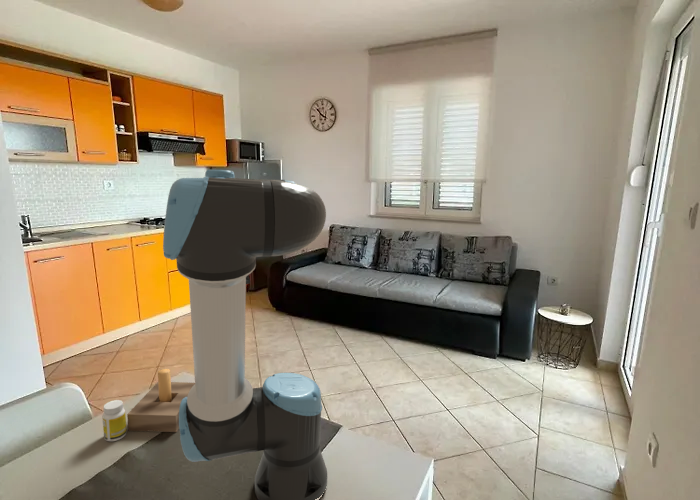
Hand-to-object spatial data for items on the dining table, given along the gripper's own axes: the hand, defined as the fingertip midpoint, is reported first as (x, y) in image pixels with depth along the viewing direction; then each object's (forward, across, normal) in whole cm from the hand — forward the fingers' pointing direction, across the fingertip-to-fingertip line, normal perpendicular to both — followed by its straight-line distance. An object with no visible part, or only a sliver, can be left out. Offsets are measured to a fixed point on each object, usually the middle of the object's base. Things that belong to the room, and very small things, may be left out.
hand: (222, 303), depth 107 cm
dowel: (+29, +6, +14) cm, 33 cm away
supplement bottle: (+29, +7, +27) cm, 40 cm away
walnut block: (+29, +6, +14) cm, 33 cm away
